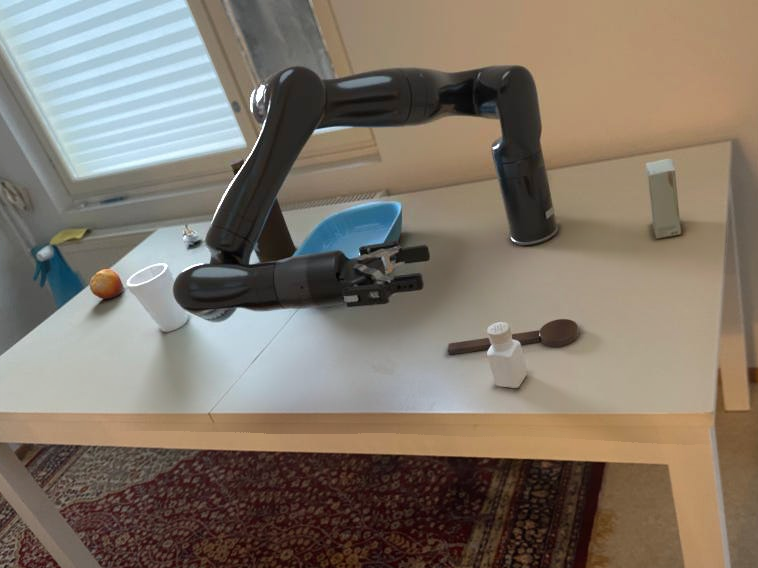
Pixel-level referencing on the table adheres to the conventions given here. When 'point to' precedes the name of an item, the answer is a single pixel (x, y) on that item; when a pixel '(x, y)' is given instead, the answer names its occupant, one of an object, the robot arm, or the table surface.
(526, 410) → the table surface
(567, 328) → the wooden spoon
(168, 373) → the table surface
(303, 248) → the casserole dish
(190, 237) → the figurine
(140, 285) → the foam cup
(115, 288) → the fruit
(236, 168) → the olive oil
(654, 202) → the cosmetic box
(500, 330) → the salt shaker
